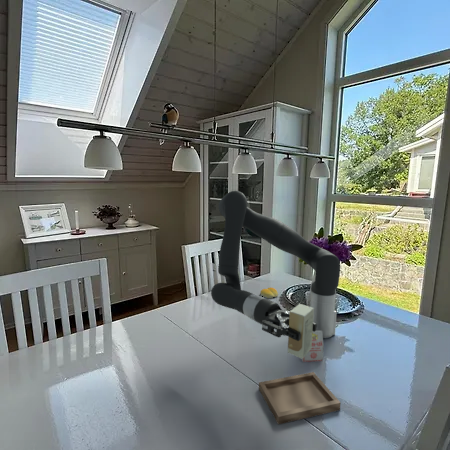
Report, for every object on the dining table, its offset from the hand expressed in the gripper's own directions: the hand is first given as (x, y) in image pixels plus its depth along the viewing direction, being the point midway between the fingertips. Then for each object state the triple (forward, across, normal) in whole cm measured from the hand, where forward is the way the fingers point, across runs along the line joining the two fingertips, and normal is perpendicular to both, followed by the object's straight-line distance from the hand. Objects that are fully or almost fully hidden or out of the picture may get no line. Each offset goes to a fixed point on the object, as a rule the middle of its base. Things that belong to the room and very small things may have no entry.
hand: (308, 332), depth 78 cm
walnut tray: (-2, 0, +21) cm, 21 cm away
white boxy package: (-11, +19, +22) cm, 31 cm away
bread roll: (-56, +50, +22) cm, 78 cm away
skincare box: (-2, 0, +7) cm, 7 cm away
